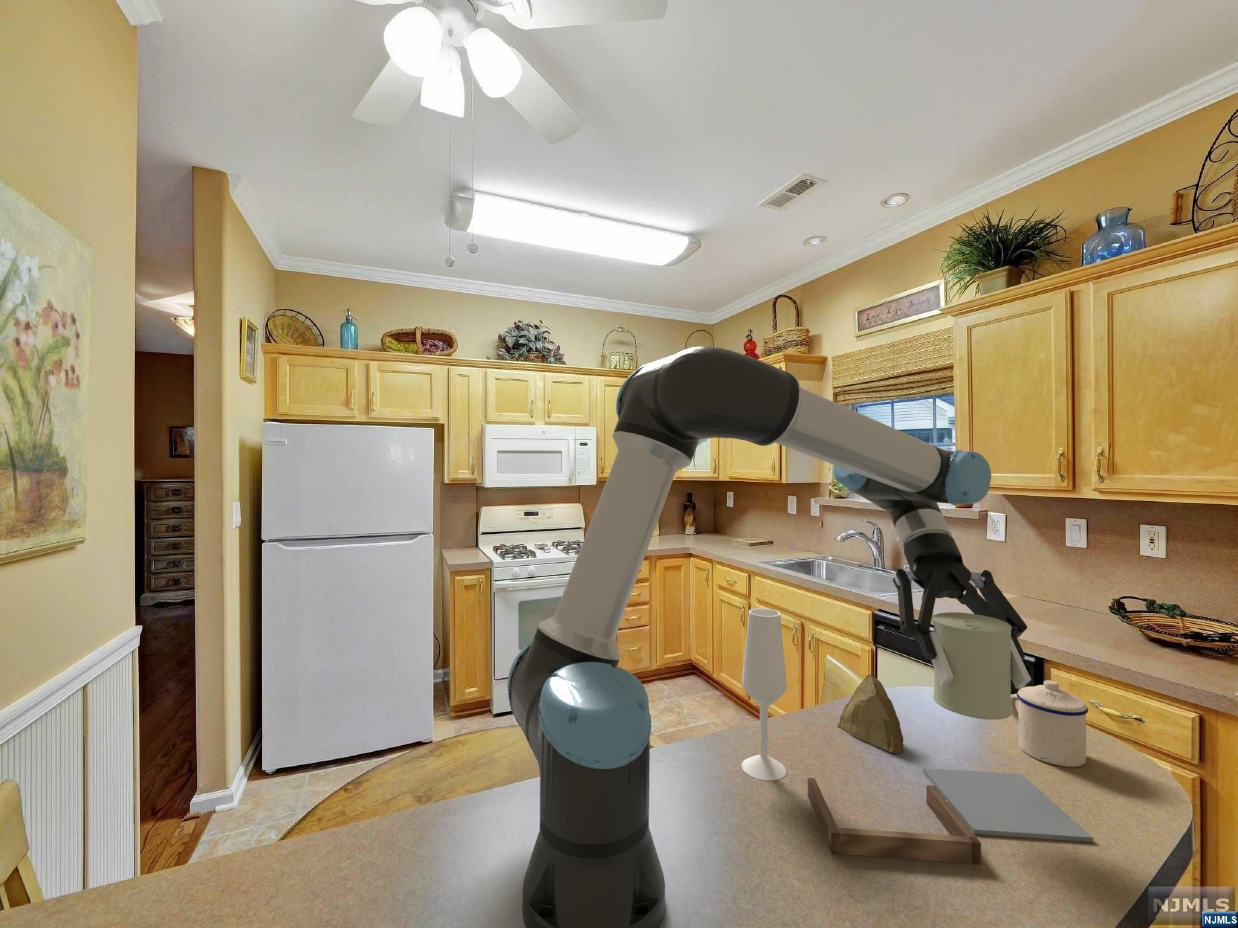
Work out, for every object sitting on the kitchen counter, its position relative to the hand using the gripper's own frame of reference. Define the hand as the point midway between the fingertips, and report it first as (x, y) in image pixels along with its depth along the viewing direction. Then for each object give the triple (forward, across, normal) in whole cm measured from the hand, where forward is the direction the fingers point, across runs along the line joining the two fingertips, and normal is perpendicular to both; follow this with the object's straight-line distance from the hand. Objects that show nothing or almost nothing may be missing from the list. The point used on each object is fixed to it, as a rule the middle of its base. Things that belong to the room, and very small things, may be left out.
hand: (985, 682), depth 72 cm
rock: (-1, +8, -27) cm, 28 cm away
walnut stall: (+15, +14, -10) cm, 23 cm away
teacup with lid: (-1, -20, -27) cm, 34 cm away
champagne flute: (+6, +27, -19) cm, 34 cm away
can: (+1, 0, -6) cm, 6 cm away
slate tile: (+10, -4, -15) cm, 19 cm away
